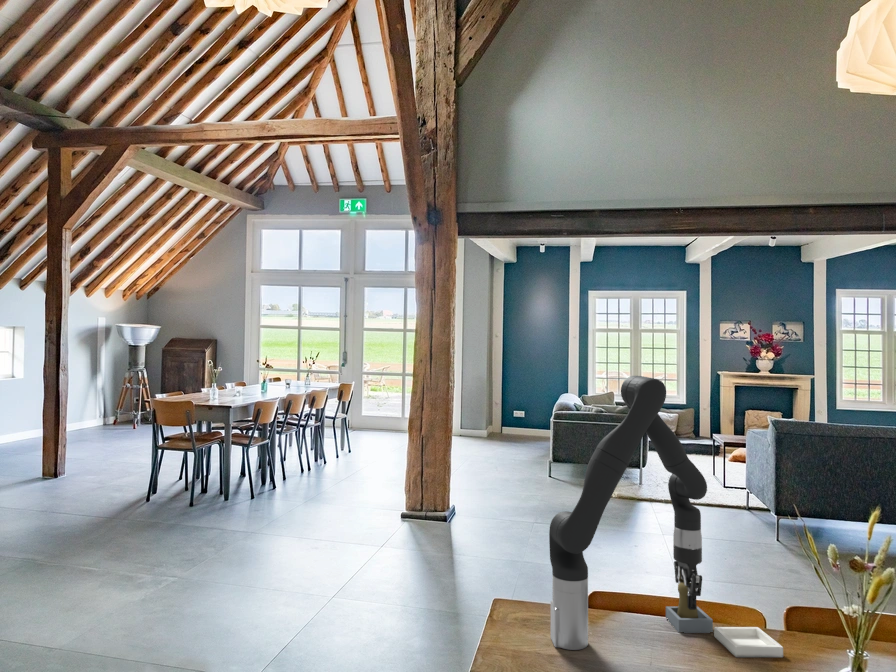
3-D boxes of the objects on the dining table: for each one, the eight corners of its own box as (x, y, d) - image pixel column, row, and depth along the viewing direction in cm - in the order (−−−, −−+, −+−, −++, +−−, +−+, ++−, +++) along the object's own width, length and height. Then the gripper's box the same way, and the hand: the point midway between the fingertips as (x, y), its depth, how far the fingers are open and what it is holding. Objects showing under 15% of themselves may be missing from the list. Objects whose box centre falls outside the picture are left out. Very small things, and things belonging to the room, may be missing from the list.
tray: (736, 657, 154) (735, 646, 154) (714, 636, 166) (714, 626, 166) (783, 657, 154) (783, 647, 154) (758, 636, 166) (757, 627, 166)
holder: (678, 632, 168) (678, 619, 168) (665, 618, 177) (665, 606, 177) (712, 632, 168) (712, 619, 168) (698, 618, 177) (697, 606, 178)
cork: (701, 628, 169) (701, 587, 170) (678, 626, 170) (678, 585, 171) (696, 619, 175) (696, 580, 176) (674, 617, 176) (674, 578, 177)
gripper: (664, 536, 181) (664, 595, 180) (684, 551, 167) (684, 615, 166) (690, 537, 181) (690, 596, 180) (712, 551, 167) (712, 615, 166)
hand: (687, 604), depth 173 cm, fingers closed on cork, 5 cm apart
